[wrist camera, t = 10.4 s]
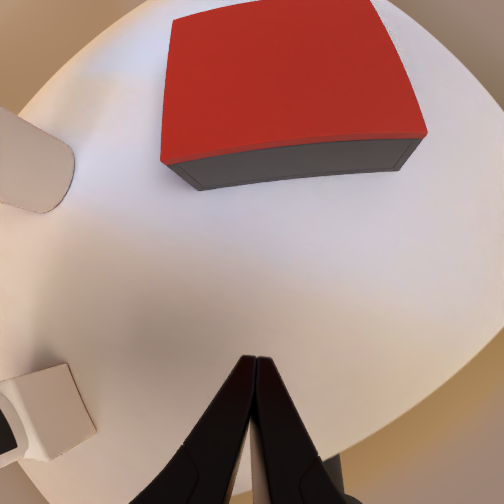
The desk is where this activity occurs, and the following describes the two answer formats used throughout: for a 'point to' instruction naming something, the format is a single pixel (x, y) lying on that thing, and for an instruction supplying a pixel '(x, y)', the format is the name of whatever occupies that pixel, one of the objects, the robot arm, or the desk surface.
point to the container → (41, 416)
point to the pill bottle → (32, 165)
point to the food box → (296, 162)
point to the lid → (283, 79)
